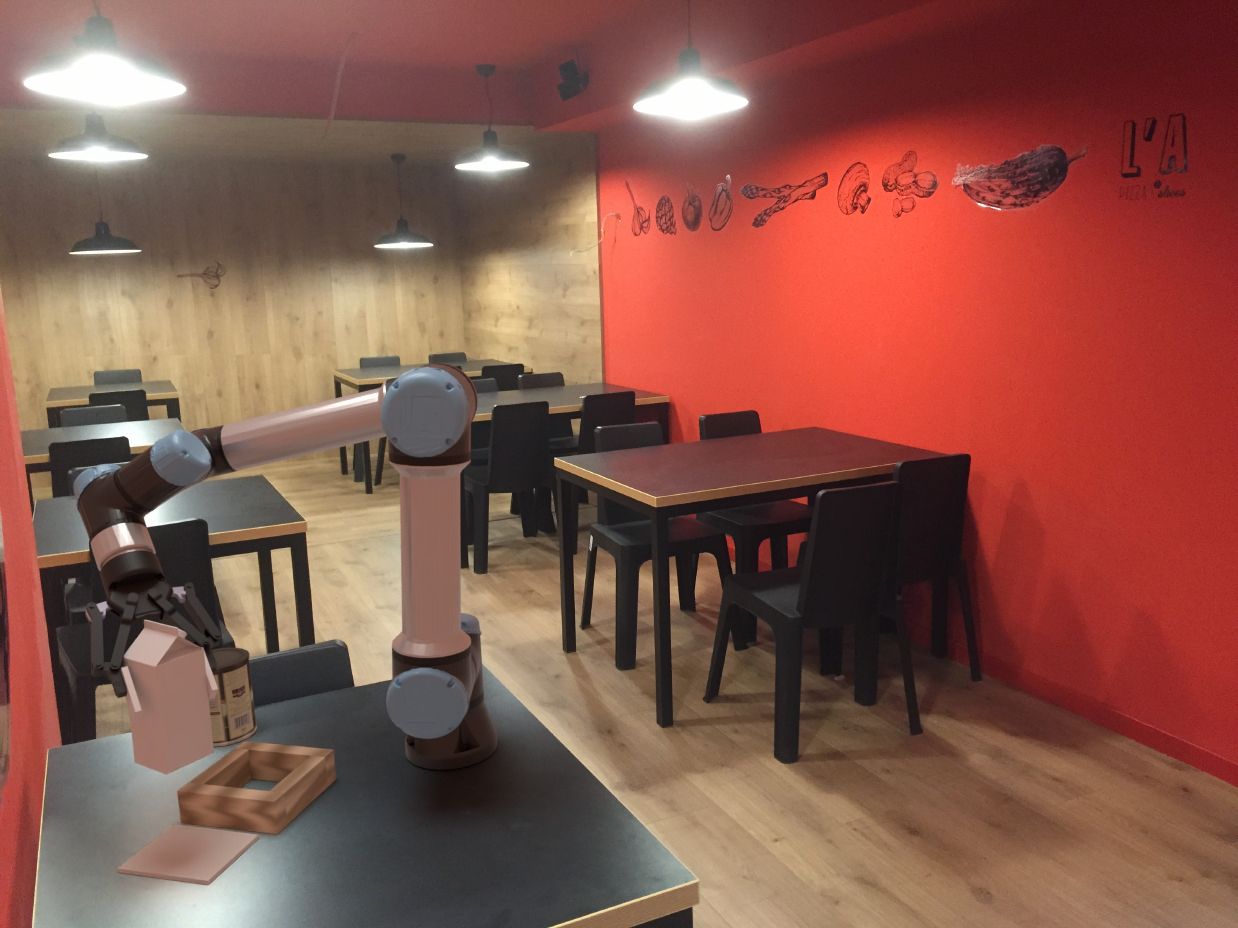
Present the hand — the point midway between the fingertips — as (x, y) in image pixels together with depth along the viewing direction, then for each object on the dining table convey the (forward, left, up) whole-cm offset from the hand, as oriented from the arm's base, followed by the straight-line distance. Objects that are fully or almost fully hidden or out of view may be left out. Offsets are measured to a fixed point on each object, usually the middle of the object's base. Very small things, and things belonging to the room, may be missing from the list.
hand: (176, 704), depth 126 cm
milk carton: (+3, -2, -9) cm, 10 cm away
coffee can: (+21, -36, -23) cm, 48 cm away
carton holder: (+1, -17, -23) cm, 29 cm away
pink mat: (+2, -2, -23) cm, 23 cm away
